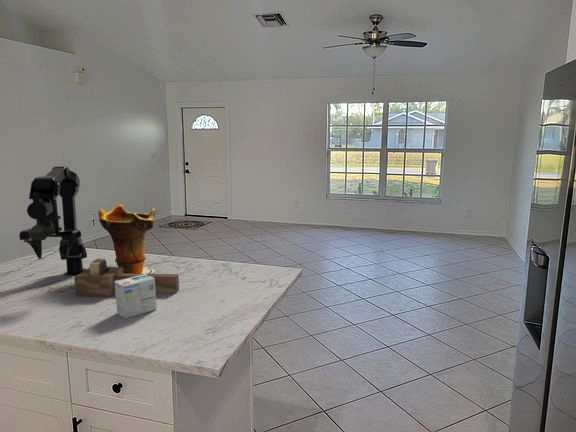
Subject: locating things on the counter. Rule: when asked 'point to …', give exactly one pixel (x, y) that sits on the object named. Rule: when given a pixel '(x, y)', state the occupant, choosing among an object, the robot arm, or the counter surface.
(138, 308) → the light bulb box
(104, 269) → the tan cardboard block
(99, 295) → the wooden block stand
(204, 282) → the counter surface
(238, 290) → the counter surface
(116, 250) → the decorative vase
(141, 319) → the counter surface
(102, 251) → the counter surface
